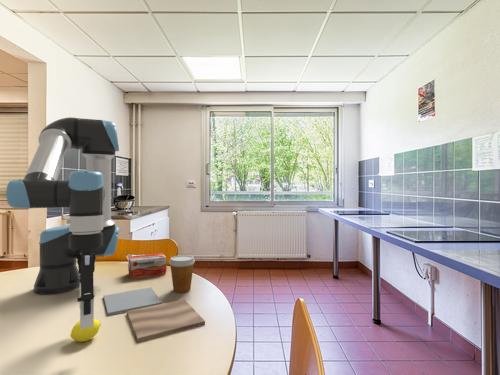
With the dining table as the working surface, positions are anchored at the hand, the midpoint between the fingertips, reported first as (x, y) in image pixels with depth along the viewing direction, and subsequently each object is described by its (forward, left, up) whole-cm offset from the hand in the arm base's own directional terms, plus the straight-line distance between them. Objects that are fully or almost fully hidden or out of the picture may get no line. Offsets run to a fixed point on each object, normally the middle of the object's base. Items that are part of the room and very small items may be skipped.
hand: (86, 316), depth 72 cm
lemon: (0, 0, -6) cm, 6 cm away
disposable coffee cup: (-22, +32, -6) cm, 40 cm away
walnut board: (-1, +20, -6) cm, 21 cm away
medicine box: (-49, +25, -7) cm, 55 cm away
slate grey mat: (-20, +14, -6) cm, 26 cm away
